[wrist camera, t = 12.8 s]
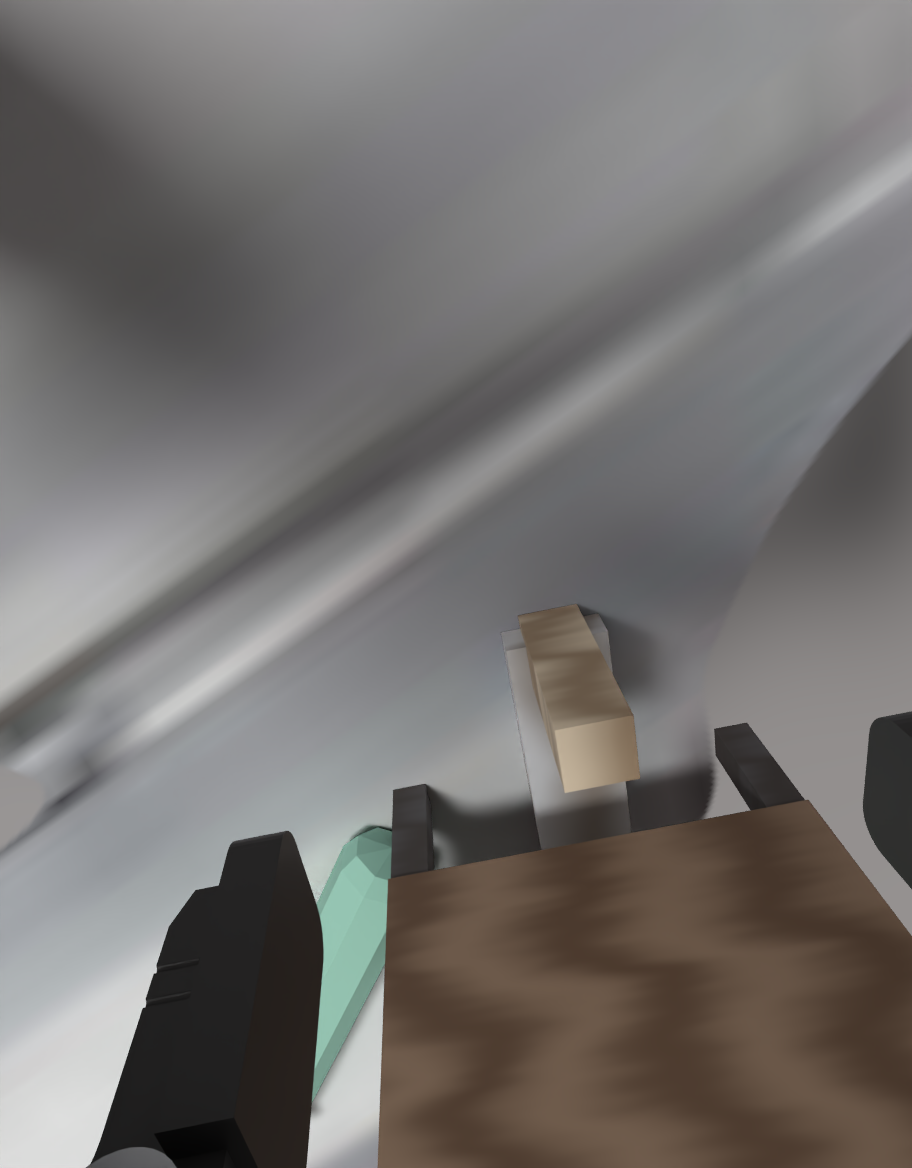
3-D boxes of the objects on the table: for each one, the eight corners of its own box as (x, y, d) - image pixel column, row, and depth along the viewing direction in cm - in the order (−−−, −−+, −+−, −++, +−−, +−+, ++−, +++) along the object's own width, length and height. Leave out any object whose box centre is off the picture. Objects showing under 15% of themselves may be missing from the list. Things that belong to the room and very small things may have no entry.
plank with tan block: (561, 960, 46) (599, 1130, 37) (498, 619, 37) (528, 735, 27) (638, 946, 46) (695, 1113, 37) (596, 600, 36) (659, 710, 27)
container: (361, 895, 35) (213, 1196, 43) (460, 888, 39) (306, 1170, 47) (328, 807, 40) (200, 1095, 48) (419, 808, 43) (285, 1078, 51)
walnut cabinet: (427, 918, 44) (442, 1461, 24) (391, 789, 40) (372, 1309, 20) (752, 857, 44) (1046, 1357, 24) (748, 720, 40) (1097, 1181, 20)
